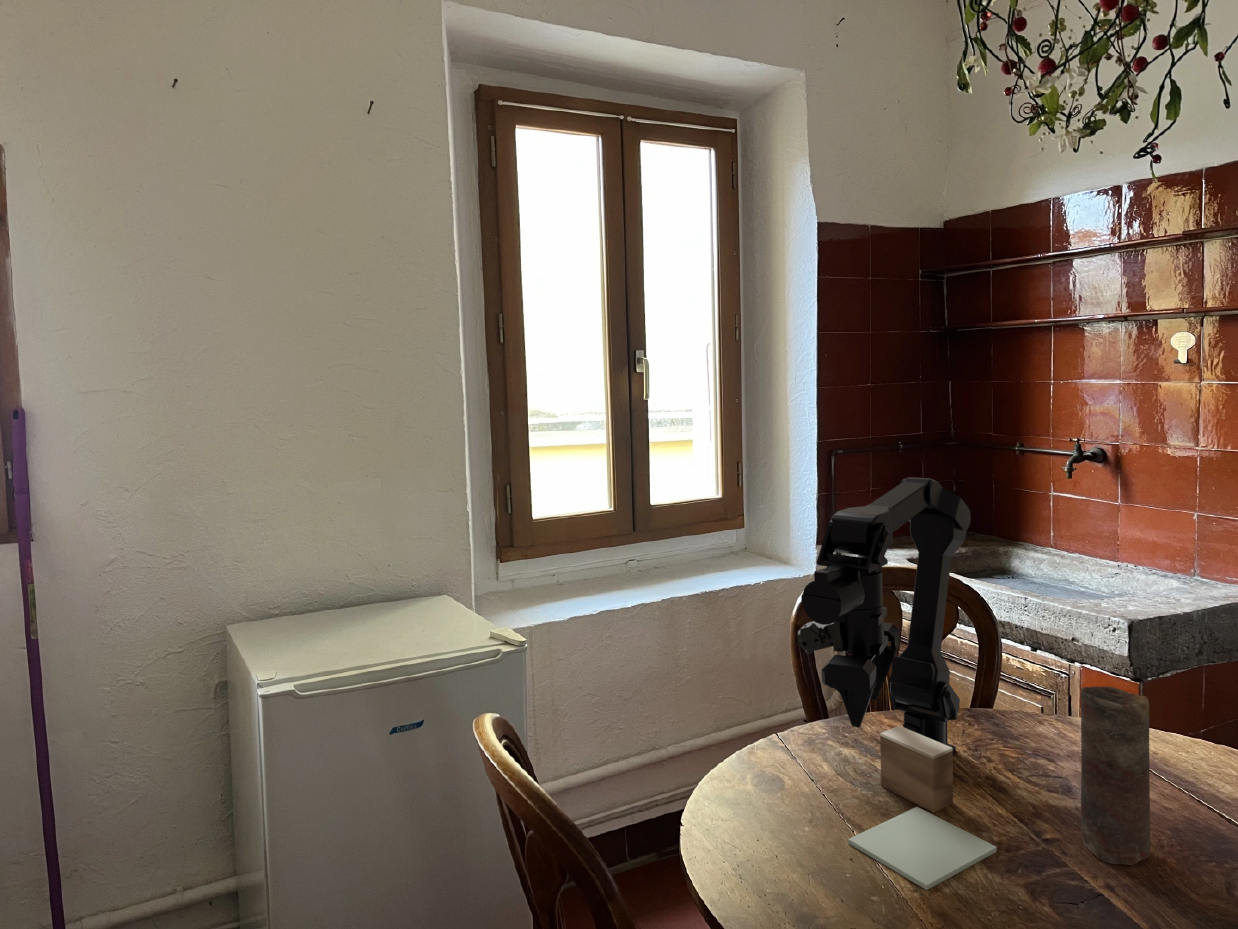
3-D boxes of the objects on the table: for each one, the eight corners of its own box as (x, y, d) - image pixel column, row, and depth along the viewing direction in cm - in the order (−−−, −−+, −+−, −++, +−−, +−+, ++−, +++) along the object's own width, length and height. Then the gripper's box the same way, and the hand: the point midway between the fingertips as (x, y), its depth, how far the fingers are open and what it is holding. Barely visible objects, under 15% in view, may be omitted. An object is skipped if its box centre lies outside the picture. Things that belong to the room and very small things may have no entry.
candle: (1067, 835, 109) (1068, 683, 106) (1123, 830, 109) (1125, 678, 106) (1104, 870, 101) (1107, 707, 99) (1164, 865, 101) (1168, 702, 99)
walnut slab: (900, 778, 125) (899, 725, 124) (952, 803, 118) (952, 747, 117) (881, 786, 123) (880, 733, 122) (933, 812, 115) (933, 756, 114)
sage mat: (916, 811, 116) (916, 806, 116) (996, 851, 106) (996, 847, 106) (848, 843, 109) (848, 839, 109) (926, 890, 99) (926, 885, 99)
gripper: (822, 580, 128) (826, 679, 130) (780, 619, 112) (786, 731, 114) (899, 585, 123) (902, 689, 125) (866, 628, 107) (870, 746, 109)
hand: (864, 712), depth 118 cm, fingers open, 9 cm apart
